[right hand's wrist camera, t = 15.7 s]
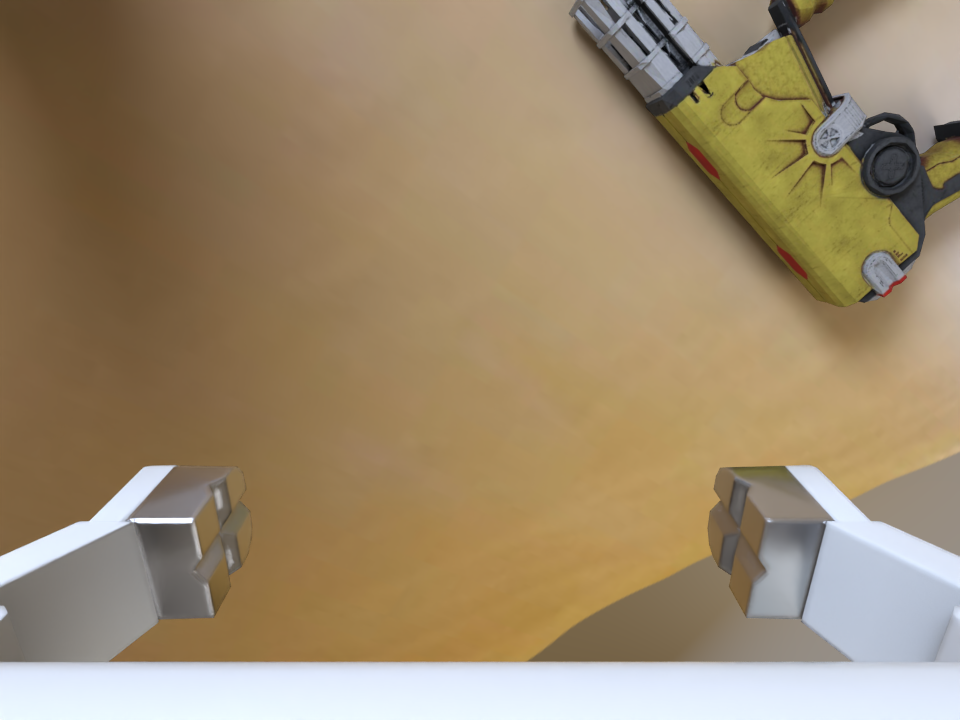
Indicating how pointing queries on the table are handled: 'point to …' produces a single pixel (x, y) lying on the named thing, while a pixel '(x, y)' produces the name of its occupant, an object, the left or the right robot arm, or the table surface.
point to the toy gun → (787, 145)
